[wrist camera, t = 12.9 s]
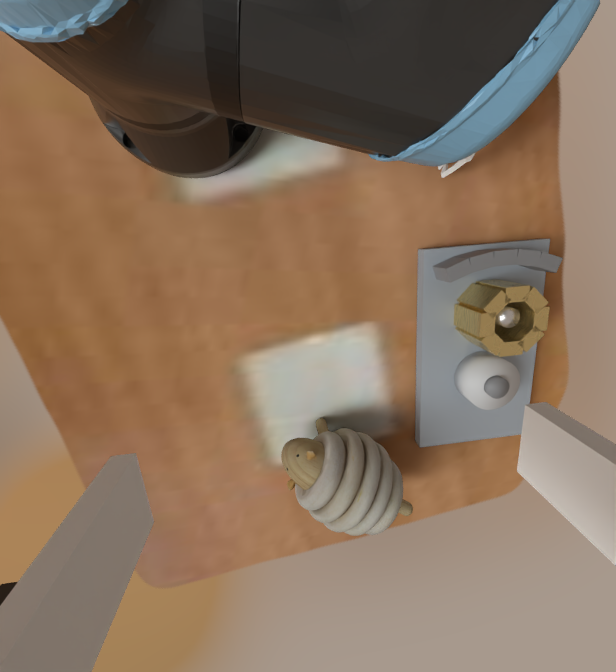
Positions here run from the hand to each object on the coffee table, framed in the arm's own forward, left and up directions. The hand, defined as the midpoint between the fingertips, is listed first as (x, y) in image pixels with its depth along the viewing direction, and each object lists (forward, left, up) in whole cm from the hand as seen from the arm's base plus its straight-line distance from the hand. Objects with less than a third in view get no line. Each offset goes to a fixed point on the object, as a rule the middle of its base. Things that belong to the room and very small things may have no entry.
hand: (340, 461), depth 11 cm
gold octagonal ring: (+2, +21, -25) cm, 33 cm away
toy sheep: (+19, +4, -27) cm, 33 cm away
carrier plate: (+7, +21, -27) cm, 35 cm away
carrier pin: (+2, +21, -25) cm, 33 cm away
